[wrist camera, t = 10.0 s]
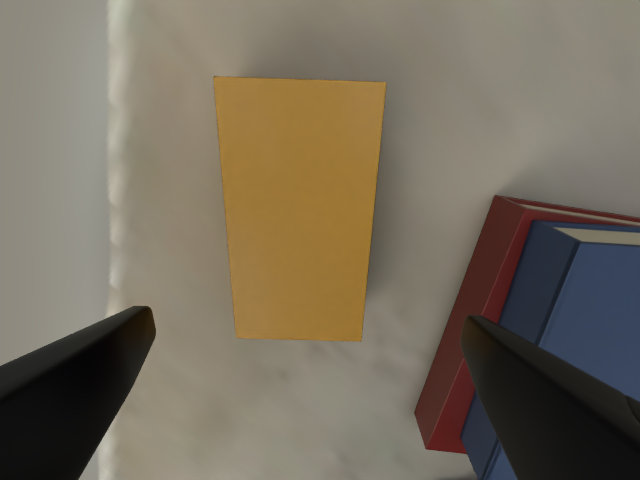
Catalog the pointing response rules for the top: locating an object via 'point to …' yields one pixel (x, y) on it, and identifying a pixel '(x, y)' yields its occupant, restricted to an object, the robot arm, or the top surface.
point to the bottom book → (485, 309)
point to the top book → (299, 202)
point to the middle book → (569, 316)
